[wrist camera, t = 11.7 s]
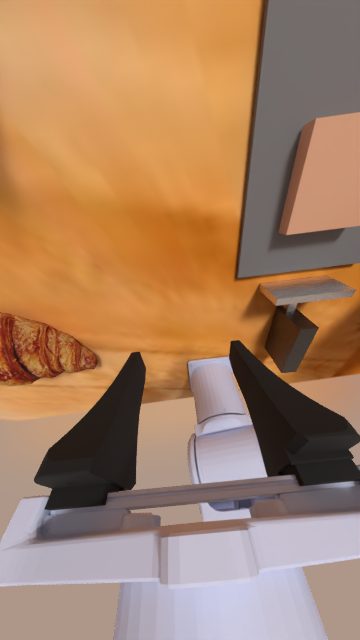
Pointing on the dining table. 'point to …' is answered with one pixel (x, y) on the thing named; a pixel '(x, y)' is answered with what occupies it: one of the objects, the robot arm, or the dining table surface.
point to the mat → (297, 128)
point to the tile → (325, 177)
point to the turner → (296, 316)
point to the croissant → (37, 351)
